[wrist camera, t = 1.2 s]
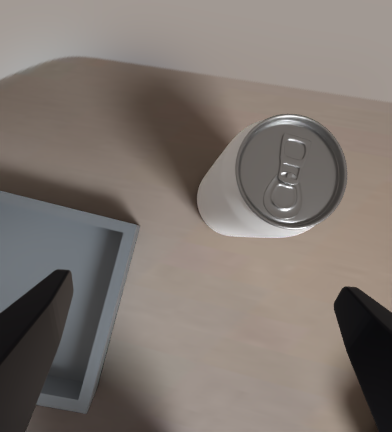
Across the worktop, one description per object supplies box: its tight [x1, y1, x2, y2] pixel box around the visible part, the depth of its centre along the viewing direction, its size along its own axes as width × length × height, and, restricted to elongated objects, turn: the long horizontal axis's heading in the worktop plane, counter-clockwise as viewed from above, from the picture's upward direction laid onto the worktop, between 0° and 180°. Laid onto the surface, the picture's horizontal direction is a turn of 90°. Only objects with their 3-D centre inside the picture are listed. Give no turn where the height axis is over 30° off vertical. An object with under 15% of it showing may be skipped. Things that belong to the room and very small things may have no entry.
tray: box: [0, 191, 140, 414], centre depth 22 cm, size 14×14×3 cm
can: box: [197, 114, 347, 238], centre depth 20 cm, size 6×6×12 cm
